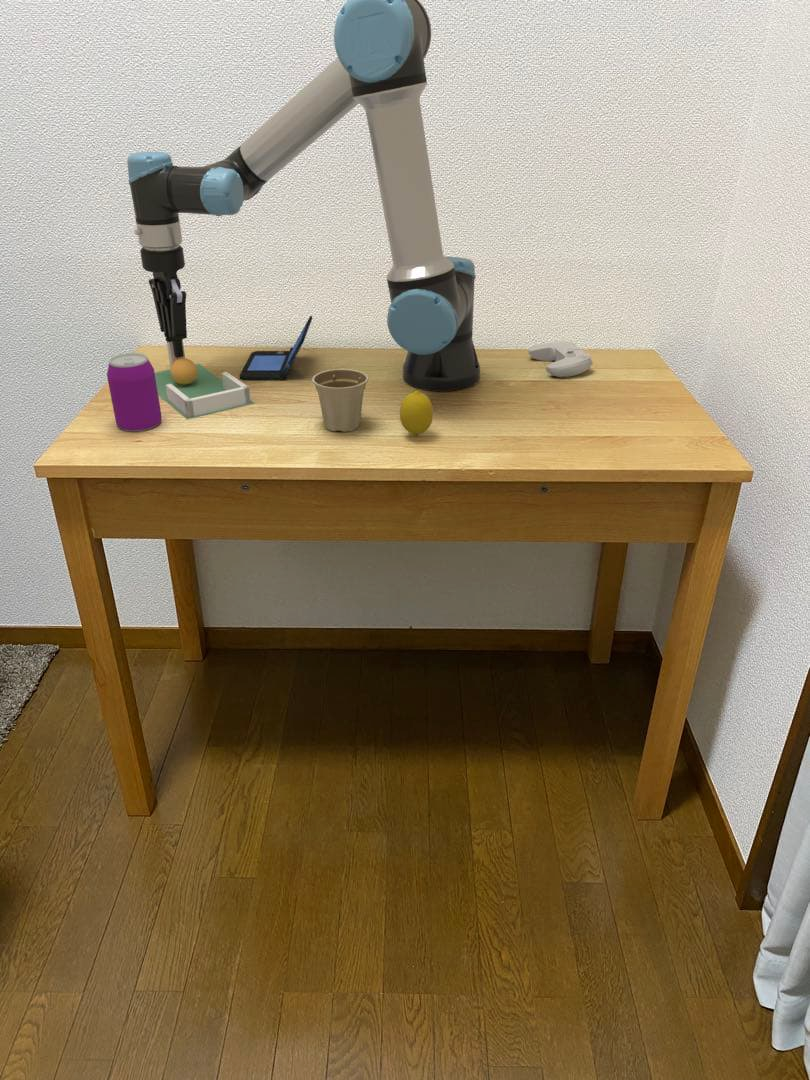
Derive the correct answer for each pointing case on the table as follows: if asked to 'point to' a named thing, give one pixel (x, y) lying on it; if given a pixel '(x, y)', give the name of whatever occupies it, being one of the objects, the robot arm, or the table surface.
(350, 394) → the flower pot
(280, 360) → the handheld game console
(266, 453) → the table surface
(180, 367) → the orange ball
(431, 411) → the lemon
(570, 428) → the table surface
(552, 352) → the game controller
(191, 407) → the white u-shaped frame
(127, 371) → the beverage can
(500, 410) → the table surface
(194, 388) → the putting mat
